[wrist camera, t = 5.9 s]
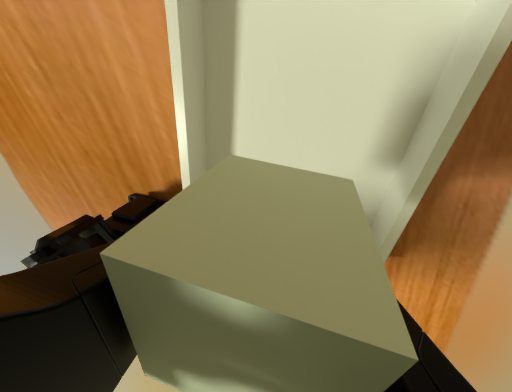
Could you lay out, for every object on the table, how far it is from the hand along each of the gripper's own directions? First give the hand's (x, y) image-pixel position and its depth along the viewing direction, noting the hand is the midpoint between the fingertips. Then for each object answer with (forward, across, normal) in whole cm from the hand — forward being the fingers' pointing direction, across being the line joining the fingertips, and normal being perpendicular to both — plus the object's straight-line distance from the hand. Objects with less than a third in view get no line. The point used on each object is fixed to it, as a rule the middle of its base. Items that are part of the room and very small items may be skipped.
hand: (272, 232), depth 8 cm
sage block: (+1, 0, 0) cm, 1 cm away
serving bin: (+12, 0, -1) cm, 12 cm away
